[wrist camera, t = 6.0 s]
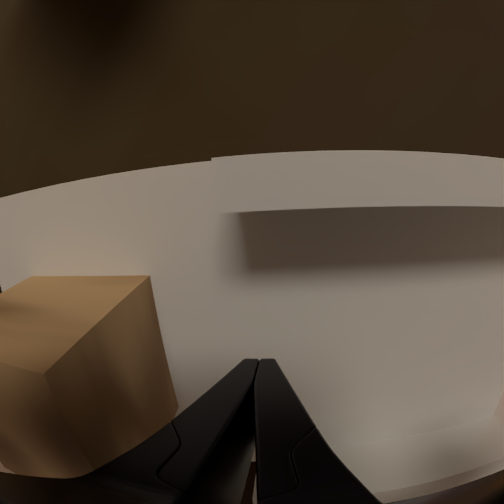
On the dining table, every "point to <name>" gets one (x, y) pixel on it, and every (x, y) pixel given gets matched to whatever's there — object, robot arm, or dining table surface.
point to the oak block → (79, 373)
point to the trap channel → (311, 290)
